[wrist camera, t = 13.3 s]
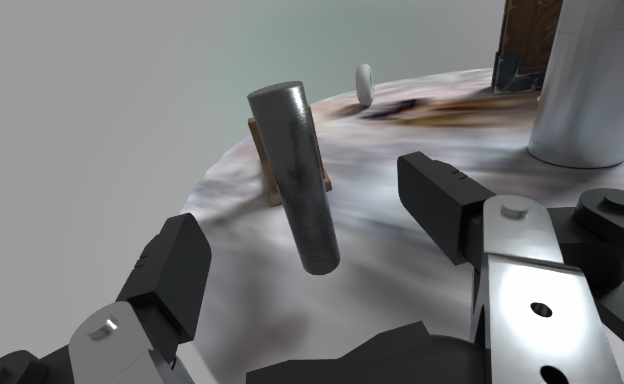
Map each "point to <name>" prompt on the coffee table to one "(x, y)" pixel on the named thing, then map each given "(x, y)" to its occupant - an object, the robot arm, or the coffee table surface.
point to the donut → (364, 85)
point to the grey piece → (297, 172)
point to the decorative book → (525, 45)
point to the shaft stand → (272, 186)
